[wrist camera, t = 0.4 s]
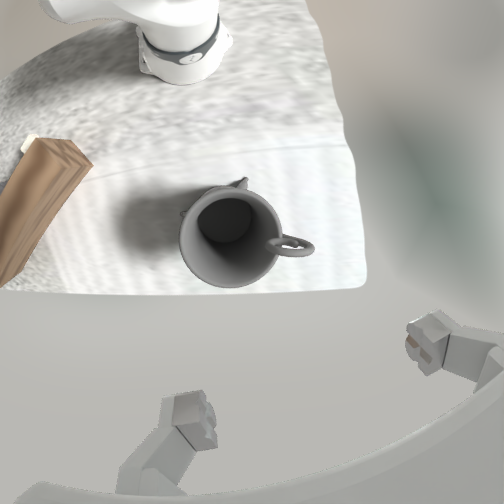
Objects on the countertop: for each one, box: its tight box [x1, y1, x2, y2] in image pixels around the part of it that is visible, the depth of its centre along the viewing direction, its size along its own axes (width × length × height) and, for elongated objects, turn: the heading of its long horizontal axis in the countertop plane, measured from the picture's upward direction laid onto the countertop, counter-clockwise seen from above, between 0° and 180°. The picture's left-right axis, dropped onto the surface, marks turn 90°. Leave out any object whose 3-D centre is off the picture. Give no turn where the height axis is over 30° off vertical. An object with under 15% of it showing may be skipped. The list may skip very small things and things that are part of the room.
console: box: [0, 138, 94, 288], centre depth 42 cm, size 8×33×14 cm, turn 131°
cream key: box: [20, 134, 40, 154], centre depth 39 cm, size 6×4×3 cm, turn 42°
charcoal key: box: [0, 181, 8, 195], centre depth 40 cm, size 6×4×3 cm, turn 42°
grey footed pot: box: [179, 177, 315, 288], centre depth 44 cm, size 19×15×25 cm
